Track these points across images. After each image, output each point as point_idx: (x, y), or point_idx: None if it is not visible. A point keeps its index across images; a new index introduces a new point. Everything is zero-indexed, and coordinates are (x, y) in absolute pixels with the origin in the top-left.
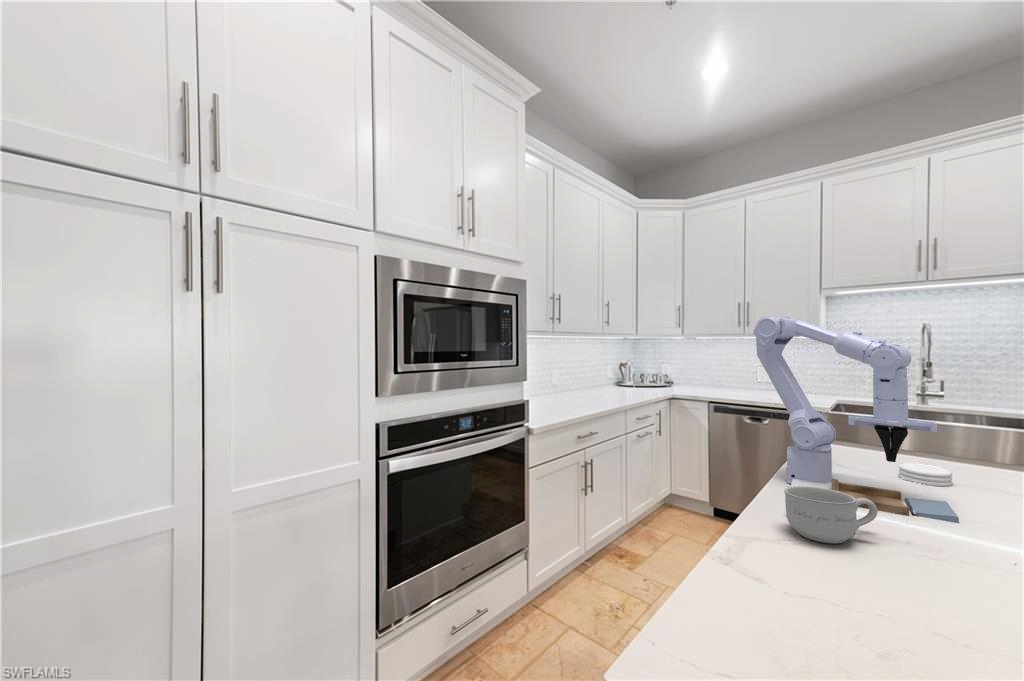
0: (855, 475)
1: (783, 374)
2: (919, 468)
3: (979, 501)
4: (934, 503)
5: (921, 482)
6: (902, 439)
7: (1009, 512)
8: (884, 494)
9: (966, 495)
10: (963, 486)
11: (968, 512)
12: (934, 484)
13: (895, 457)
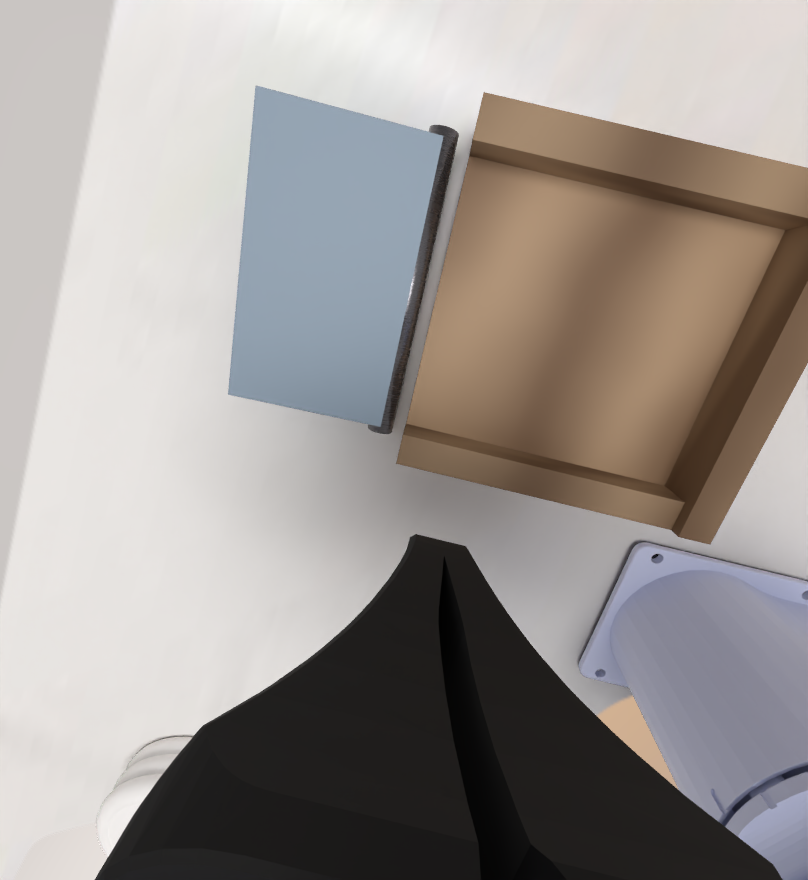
0: None
1: None
2: None
3: (96, 604)
4: (291, 343)
5: None
6: (306, 683)
7: (34, 506)
8: (472, 443)
9: (118, 661)
10: (102, 757)
11: (167, 446)
12: (186, 742)
13: (414, 547)
